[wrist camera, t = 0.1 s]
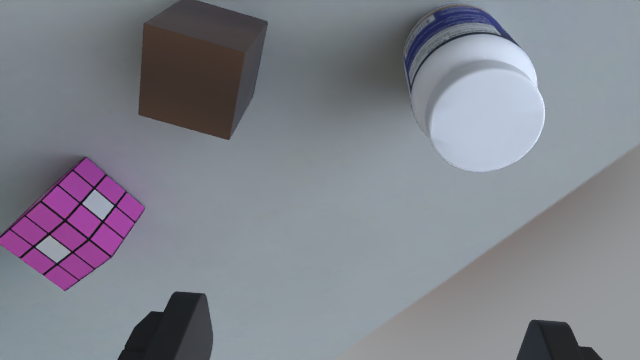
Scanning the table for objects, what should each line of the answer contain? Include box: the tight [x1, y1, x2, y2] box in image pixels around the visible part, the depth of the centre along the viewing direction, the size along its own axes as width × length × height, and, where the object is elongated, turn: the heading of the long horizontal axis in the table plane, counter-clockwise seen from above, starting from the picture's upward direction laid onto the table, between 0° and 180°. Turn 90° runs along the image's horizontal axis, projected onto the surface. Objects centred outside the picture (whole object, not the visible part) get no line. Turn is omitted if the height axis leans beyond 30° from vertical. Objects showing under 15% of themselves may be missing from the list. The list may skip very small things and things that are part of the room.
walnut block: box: [139, 0, 268, 140], centre depth 27 cm, size 5×5×6 cm
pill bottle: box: [403, 4, 545, 172], centre depth 24 cm, size 6×6×10 cm
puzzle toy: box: [0, 157, 145, 291], centre depth 34 cm, size 6×6×6 cm
